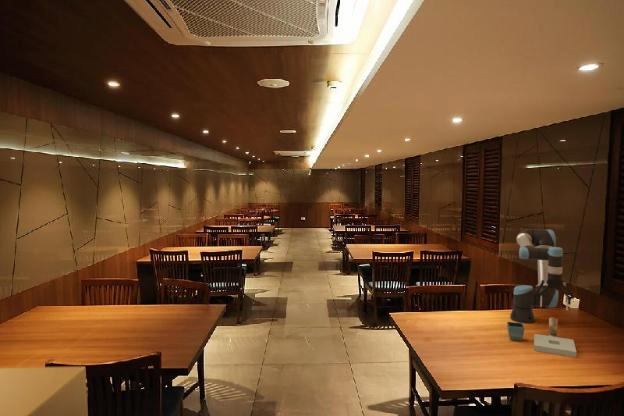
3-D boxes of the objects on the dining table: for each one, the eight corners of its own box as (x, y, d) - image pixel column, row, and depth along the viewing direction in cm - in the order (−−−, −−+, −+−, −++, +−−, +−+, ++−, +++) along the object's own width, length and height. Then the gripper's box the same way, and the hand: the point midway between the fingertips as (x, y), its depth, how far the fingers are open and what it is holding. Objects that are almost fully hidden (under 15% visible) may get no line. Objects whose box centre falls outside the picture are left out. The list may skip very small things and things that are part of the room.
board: (534, 350, 231) (534, 345, 231) (534, 338, 249) (534, 333, 248) (576, 357, 222) (576, 352, 221) (573, 344, 239) (573, 339, 239)
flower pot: (522, 337, 251) (522, 322, 250) (524, 342, 242) (524, 327, 242) (506, 335, 254) (506, 321, 253) (508, 340, 245) (508, 326, 245)
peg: (548, 338, 248) (549, 319, 248) (548, 336, 252) (549, 317, 251) (557, 340, 246) (557, 320, 245) (556, 337, 250) (557, 318, 249)
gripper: (531, 272, 249) (530, 306, 251) (580, 276, 238) (579, 312, 239) (531, 270, 256) (530, 303, 257) (579, 274, 244) (577, 309, 245)
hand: (553, 308), depth 248 cm, fingers open, 13 cm apart
